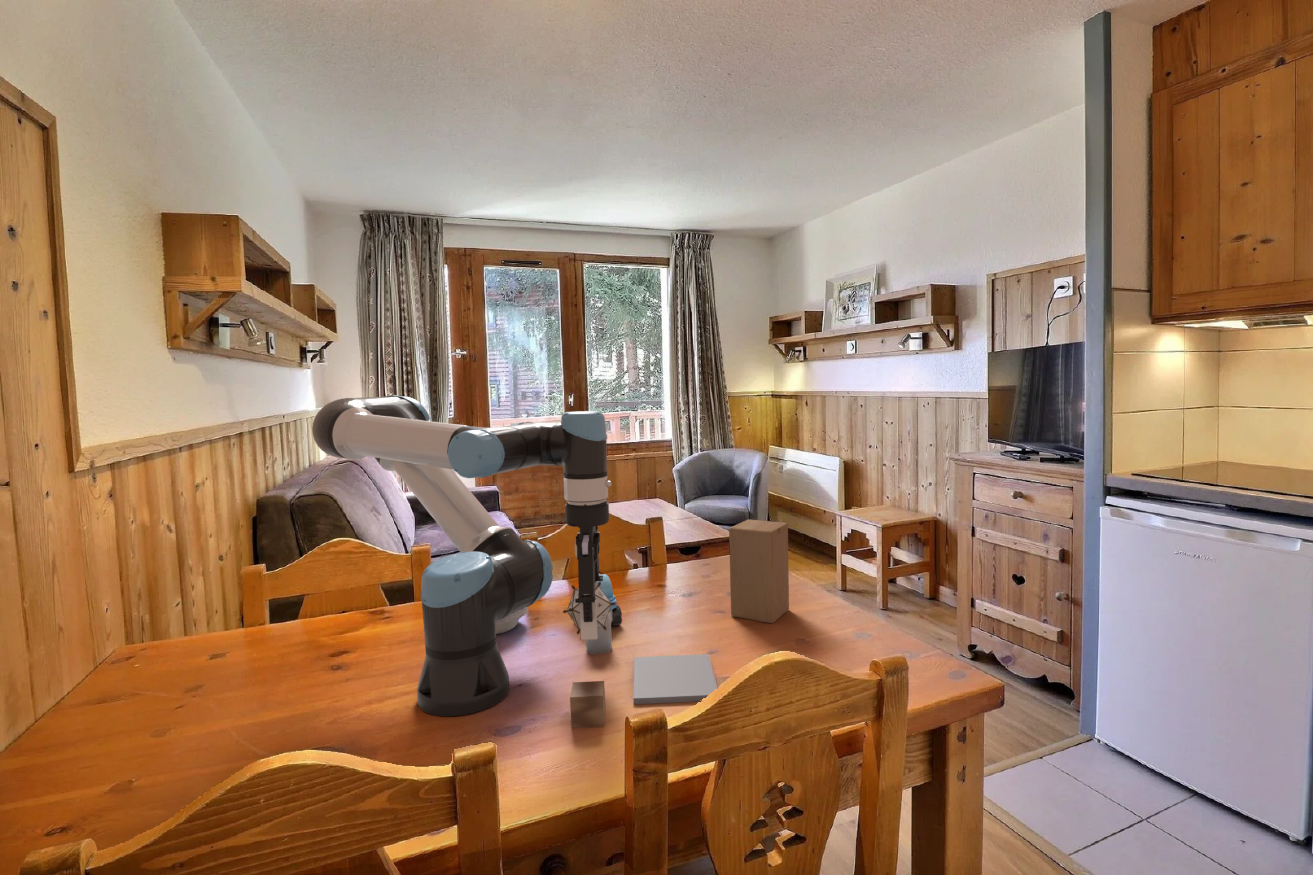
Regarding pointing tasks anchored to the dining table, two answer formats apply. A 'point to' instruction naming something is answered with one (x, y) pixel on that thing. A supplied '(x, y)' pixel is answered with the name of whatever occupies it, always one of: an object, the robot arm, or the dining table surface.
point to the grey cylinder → (601, 639)
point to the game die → (601, 605)
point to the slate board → (673, 678)
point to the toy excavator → (609, 597)
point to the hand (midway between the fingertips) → (591, 627)
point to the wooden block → (759, 570)
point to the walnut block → (587, 704)
